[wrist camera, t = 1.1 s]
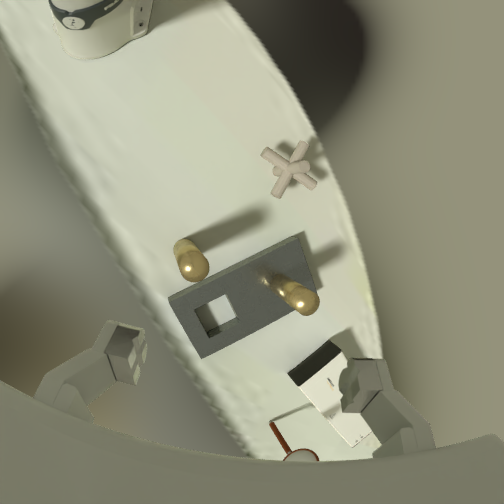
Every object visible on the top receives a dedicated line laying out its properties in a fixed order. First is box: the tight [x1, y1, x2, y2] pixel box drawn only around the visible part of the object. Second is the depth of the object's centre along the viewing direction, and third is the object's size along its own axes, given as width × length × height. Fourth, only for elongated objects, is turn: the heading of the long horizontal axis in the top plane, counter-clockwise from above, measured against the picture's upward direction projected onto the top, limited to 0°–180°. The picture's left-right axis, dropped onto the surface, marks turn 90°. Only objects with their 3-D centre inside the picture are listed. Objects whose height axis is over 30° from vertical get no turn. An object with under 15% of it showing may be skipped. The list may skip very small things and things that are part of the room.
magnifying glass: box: [269, 421, 319, 461], centre depth 51 cm, size 9×2×20 cm, turn 128°
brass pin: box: [174, 239, 209, 282], centre depth 42 cm, size 4×4×13 cm
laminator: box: [288, 340, 372, 447], centre depth 63 cm, size 34×12×6 cm, turn 34°
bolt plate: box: [168, 236, 320, 359], centre depth 47 cm, size 24×12×13 cm, turn 113°
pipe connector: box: [261, 141, 317, 199], centre depth 46 cm, size 10×10×10 cm
